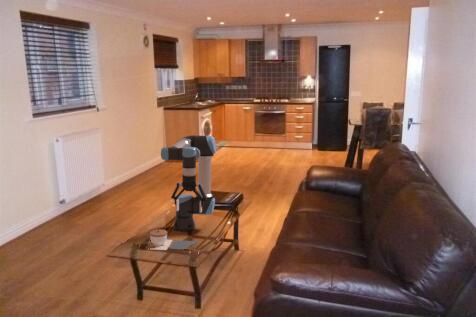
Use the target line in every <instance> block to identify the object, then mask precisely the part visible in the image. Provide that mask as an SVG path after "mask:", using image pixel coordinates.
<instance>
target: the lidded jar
mask: <svg viewBox="0 0 476 317" xmlns="http://www.w3.org/2000/svg"><path fill="white" fill-rule="evenodd" d="M149 239H150V240H151V242H152V243H153V244H154V245H156V246H161V245H163V244H164V243H165V242H166V240H167V239H168V231H167V230H166V229H161V228H160V229H153V230H151V231H150V232H149ZM150 240H149V241H150Z"/></svg>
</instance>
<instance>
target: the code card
mask: <svg viewBox="0 0 476 317" xmlns="http://www.w3.org/2000/svg"><path fill="white" fill-rule="evenodd" d="M172 243H173V239H168V238H167V240H166V242H165V243H164V244H163V245H161V246H156V247H155V248H150V249H149V248H148V249H147V250H151V251H152V250H153V251H155V250H156V251H167V250H168V248H170V246H171V245H172Z"/></svg>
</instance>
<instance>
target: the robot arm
mask: <svg viewBox="0 0 476 317" xmlns="http://www.w3.org/2000/svg"><path fill="white" fill-rule="evenodd" d="M216 153H217V145H216V139H215V137H214V136H211V135H187V136H183V137H181V138H179V139H178V140H177V141H176V143H174V144H172V145H171V146H170V147H162V148H161V150H160V159H161V160H163V161H178V162H182V168H181V169H182V171H181V172H182V180H181V181H182V182H179V181H178V182H177V183H176V187H175V189H174V191H173V193H172V195H171V199H172V200H174V206H175V219H174V222H173V229H174V231H176V232H177V231H178V232H190V231H193V230H195V229H196V223H195V219H194V216H193V215H205V216H209V215H212V214H213V212H214V208H215V205H216V198H215V197H214V196H213V194H212V192H211V191H212V190H211V188H212V185H211V184H212V158H213V157H214V155H215V154H216ZM197 161H198V169H197ZM197 170H198V171H197ZM197 172H198V173H197ZM196 174H197V175H196ZM197 176H198V178H197ZM197 179H198V180H197ZM181 186H182V188H181V190H180V191H179V188H180V187H181ZM196 187H197V188H198V189H197V188H196ZM178 192H179V193H178ZM184 192H193V193H194V194H195V196H194V194H191V193H184ZM183 193H184V194H183Z"/></svg>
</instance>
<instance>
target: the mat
mask: <svg viewBox="0 0 476 317" xmlns="http://www.w3.org/2000/svg"><path fill="white" fill-rule="evenodd" d="M173 240H174V239H173ZM195 243H196V244H197V241H196V240H179V239H178V240H177V239H176V240H174V241H172V243H171V244H170V246H169V250H174V251H175V250H176V251H185V250H184V249H185V248H187V247H188V246H190V245H193V244H195ZM196 244H195V245H196Z"/></svg>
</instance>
